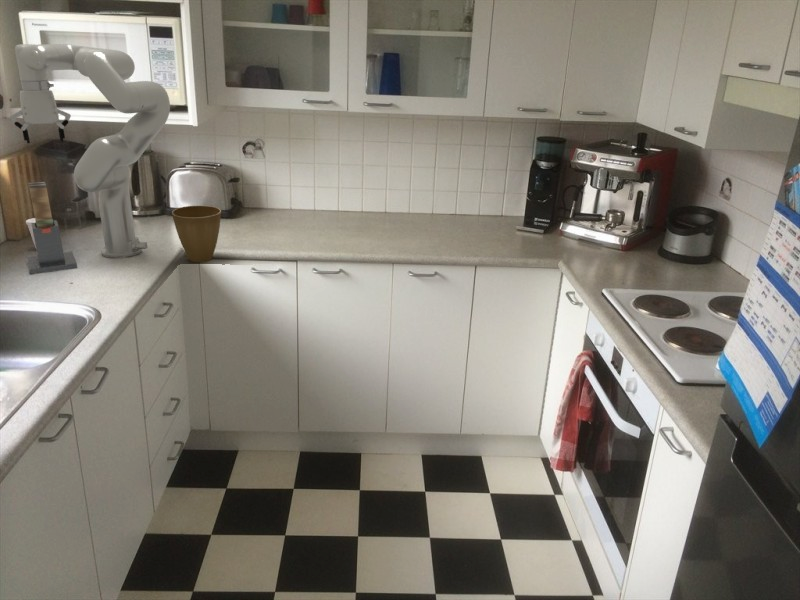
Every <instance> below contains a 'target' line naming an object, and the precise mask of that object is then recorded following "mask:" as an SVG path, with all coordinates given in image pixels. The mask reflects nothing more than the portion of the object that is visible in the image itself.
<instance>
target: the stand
mask: <svg viewBox="0 0 800 600" xmlns="http://www.w3.org/2000/svg"><path fill="white" fill-rule="evenodd" d="M31 224H32V229H33V235H34V240H35V245H36V248H35V249H36V254H37V255H31V256H27V257H26V258H27V266H28V271H29V274H30V275H35V274H41V273H42V274H43V273H48V272H55V271H56V272H57V271H63V270H70V269H77V268H78V263H77V260H76V257H75V255H74V252H73V251H65V252H64V249H63V243H62V242H63V241H62V237H61V233H60V232H61V231H60V226H59V224H58V220H55V219H54V220H53V226H45V227H37V225H36V222H35V223H31ZM35 245H34V246H35Z"/></svg>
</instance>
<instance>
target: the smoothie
mask: <svg viewBox="0 0 800 600" xmlns="http://www.w3.org/2000/svg"><path fill="white" fill-rule="evenodd" d="M35 222H36V220H35V217H33V218H28V219H27V220H25V224H26V226H27V227H28V230H29V232H30V235H31V239H32V242H33V244H34V247H35V248H34V249H36V245H35V240H34V235H33V229H32V224H31V223H35Z"/></svg>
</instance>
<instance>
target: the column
mask: <svg viewBox="0 0 800 600" xmlns="http://www.w3.org/2000/svg"><path fill="white" fill-rule="evenodd" d="M28 187H29V188H28V189H29V192H30V198H31V202H32V208H33V214H34V218H35V220H36V225H37V227H45V226H53V221H54V219H53V216H52V215H53V214H52V211H51V205H50V201H49V200H50V199H49V193H48V189H47V184H46V182H45V181H39V182H28Z"/></svg>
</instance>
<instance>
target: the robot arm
mask: <svg viewBox="0 0 800 600" xmlns="http://www.w3.org/2000/svg"><path fill="white" fill-rule="evenodd" d="M14 52H15V53H14V54H15V56H16V63H17V68H18V73H19V79H20V83H21V88H22V90H20V91H19V103H20V110H18V111H16V112H14V113H13V114H11V115H10V116H9V119H10V120H11V122H12V123H13V124H14V125H15V127H17V128H19V129H20V130H21V131H22V136H23V141H26V143H27V144H30V141H31V140H30V137H29V132H28V131H29V130H28V129H27V128H28V127H29V126H30V125H44V124H46V125H47V124H55V125H56V126H58V129H57V130H58V136H59V141H60V142H64V139H66V137H65V136H66V135H65V129H64V128H65V127H66V126H67V125H68V124H69V122H70V119H71V117H72V116H71V114H70V113H69V112H65V111H63V110H61V109H59V108H58V106H57V102H56V99H55V95H54V93H53V90H50V89H51V88H52V87H53V88H54V82H51V81H49V80H48V73H47V71H49V72H50V71H65V70H67V71H68V70H69V71H78V72H79V73H80V74H81V75H82V76H84V77H85V78H86V77H87V78H89V80H90V81H91V83H92V84H93V85H94V86H95V87H96V89H98V91H99V92H100V93H101V95H103V97H104V98H105V99H106V100H107V101H108V103H109V104H110V105H111V106H112V107H113V108H114V109H115V110H117V111H118V112H120V113H123V114H134V115H133V116H132V117H130V119H128V120H127V122H126V124H125V125H124V127H123V128H122V129H121V130H120V131H119V132H117V133H114V134H112V135H108V136H107V135H106V136H103V137H99V138H97V139H96V140H94V141H92V142H91V143H90V145H89V146H88V148H87V149H86V150H85V152H84V153H83V154H82V156H81V158H80V159H79V161H78V162H77V164H75V168H74V170H73V179H74V182H75V184H76V185H77V187H78V188H79V189H81V190H82V191H84V192H87V193H95V192H98V207H99V215H100V220H101V228H102V234H103V240H104V247H103V248H102V249H101V250H100V254H101V255H102V256H103V257H106V258H111V259H118V258H119V259H120V258H121V259H122V258H129V257H132V256H136V255H138V254H140V253H141V252H142V251H143V250H147V249H148V243H147V242H146V241H140V240H139V238H140V237H136V233H135V232H136V231H135V224H134V220H133V219H134V218H133V211H132V210H133V209H132V203H131V193H130V181H131V172H130V171H131V169H130V167H129V166H130V165H133V164H135V163H137V161H138V160H139V159H140V158H141V156H142V155H143V153H145V151H146V150H147V149H148V147H149V146H150V145H151V143H152V141H153V140H154V139H155V138H156V136H157V135H158V134H159V133H160V131H161V130H163V128H164V126H165V124H166V123H167V121H168V118H169V116H170V111H171V103H170V97H169V94H168V92H167V90H166V88H164V87H163V86H162V85H161V84H160V83H158V82H156V81H150V80H142V81H141V80H139V81H129V82H126V80H128V79H130V78H131V77H132V76H133V74H134V72H135V69H136V67H135V62H134V60H133V58H132V57H131V56H130V55H129V54H128V53H126V52H124V51H121V50H117V49H108V48H101V47H100V48H98V47H91V46H90V47H89V46H83V45H82V46H81V45H75V44H64V43H63V44H61V43H47V44H46V43H45V44H35V43H34V44H33V43H31V44H29V43H24V44H23V43H22V44H21V43H20V44H17V45H15V47H14ZM59 115H61V116H64V119H63V120H62V122H61V121H60V117H59ZM20 116H21V117H22V120H23V123H22V124H21V123H20V122H19V121H18V120H17V118H19V117H20Z"/></svg>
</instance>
